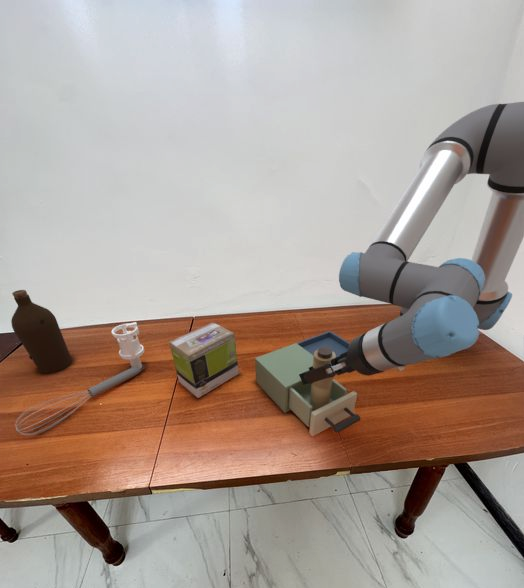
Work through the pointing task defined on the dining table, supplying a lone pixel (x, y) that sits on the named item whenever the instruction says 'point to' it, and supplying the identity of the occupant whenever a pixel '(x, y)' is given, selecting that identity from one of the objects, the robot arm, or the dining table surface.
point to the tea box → (205, 358)
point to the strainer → (129, 344)
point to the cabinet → (282, 372)
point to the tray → (325, 343)
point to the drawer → (324, 408)
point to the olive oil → (40, 334)
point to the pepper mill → (323, 387)
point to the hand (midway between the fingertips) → (311, 375)
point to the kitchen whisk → (91, 391)
